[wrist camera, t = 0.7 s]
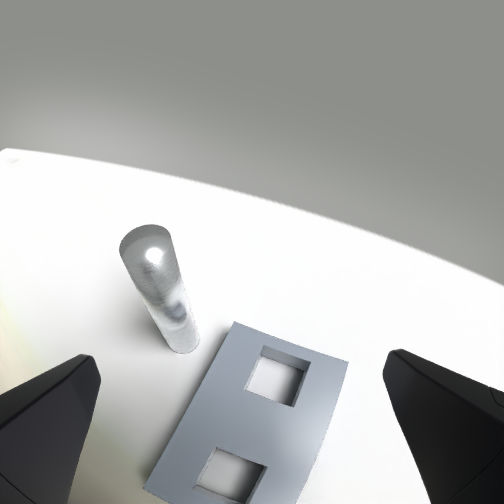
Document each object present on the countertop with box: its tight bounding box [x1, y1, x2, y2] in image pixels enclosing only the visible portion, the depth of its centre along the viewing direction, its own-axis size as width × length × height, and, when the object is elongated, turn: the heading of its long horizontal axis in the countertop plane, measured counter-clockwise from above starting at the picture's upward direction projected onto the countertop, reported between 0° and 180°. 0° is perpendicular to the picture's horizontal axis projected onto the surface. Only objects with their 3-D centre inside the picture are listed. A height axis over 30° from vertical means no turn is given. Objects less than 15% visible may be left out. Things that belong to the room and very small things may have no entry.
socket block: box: [143, 321, 348, 504], centre depth 17 cm, size 16×10×2 cm, turn 157°
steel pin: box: [119, 224, 200, 354], centre depth 19 cm, size 3×3×12 cm
